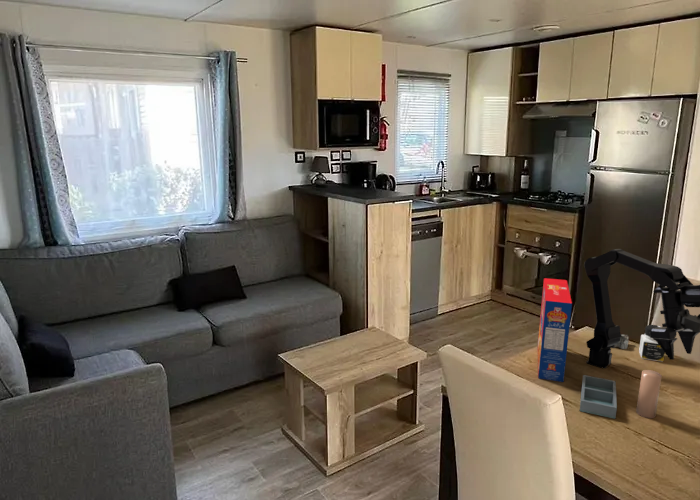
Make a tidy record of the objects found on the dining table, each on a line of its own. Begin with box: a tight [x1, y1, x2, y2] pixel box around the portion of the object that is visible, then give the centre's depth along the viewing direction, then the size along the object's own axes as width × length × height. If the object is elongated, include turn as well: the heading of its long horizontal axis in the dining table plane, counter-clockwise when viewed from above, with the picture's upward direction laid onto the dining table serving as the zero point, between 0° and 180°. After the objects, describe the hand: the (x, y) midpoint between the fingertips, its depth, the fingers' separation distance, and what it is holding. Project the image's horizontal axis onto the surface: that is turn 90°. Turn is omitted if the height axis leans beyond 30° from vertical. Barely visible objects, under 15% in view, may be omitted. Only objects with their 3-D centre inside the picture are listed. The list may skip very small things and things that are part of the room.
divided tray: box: [579, 374, 618, 420], centre depth 159 cm, size 18×10×4 cm, turn 154°
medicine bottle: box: [638, 324, 666, 363], centre depth 189 cm, size 7×7×12 cm
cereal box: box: [537, 277, 573, 383], centre depth 182 cm, size 28×8×28 cm, turn 161°
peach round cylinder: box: [635, 369, 662, 419], centre depth 150 cm, size 5×5×13 cm
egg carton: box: [614, 334, 629, 350], centre depth 201 cm, size 11×8×4 cm
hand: (680, 356), depth 158 cm, fingers open, 9 cm apart
